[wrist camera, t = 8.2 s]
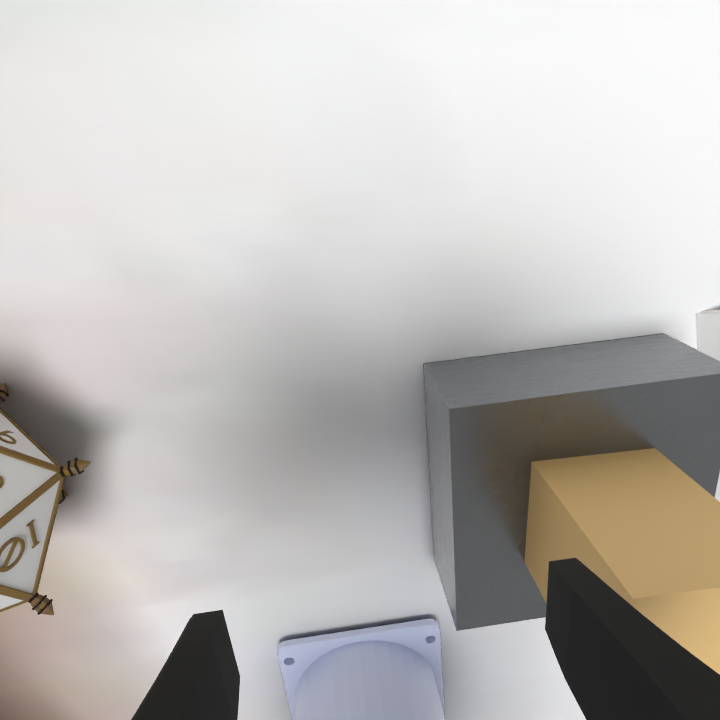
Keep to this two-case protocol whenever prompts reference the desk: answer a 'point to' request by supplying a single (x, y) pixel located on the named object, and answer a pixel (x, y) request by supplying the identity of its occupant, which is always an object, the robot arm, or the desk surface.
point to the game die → (27, 512)
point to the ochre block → (633, 538)
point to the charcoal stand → (549, 448)
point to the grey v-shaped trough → (709, 344)
